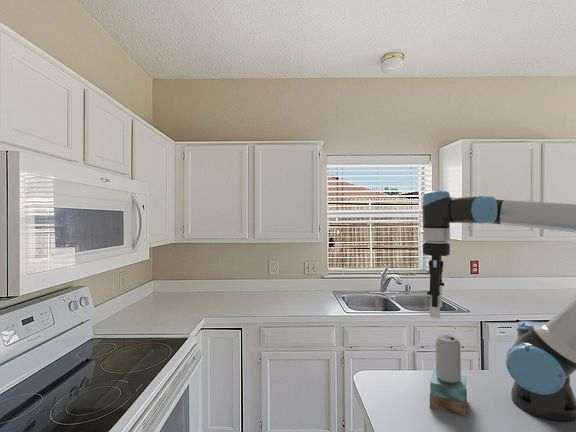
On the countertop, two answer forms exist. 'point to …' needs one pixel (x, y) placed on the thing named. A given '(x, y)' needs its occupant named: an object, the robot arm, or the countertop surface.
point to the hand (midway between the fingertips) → (436, 311)
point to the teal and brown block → (448, 395)
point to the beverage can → (448, 359)
